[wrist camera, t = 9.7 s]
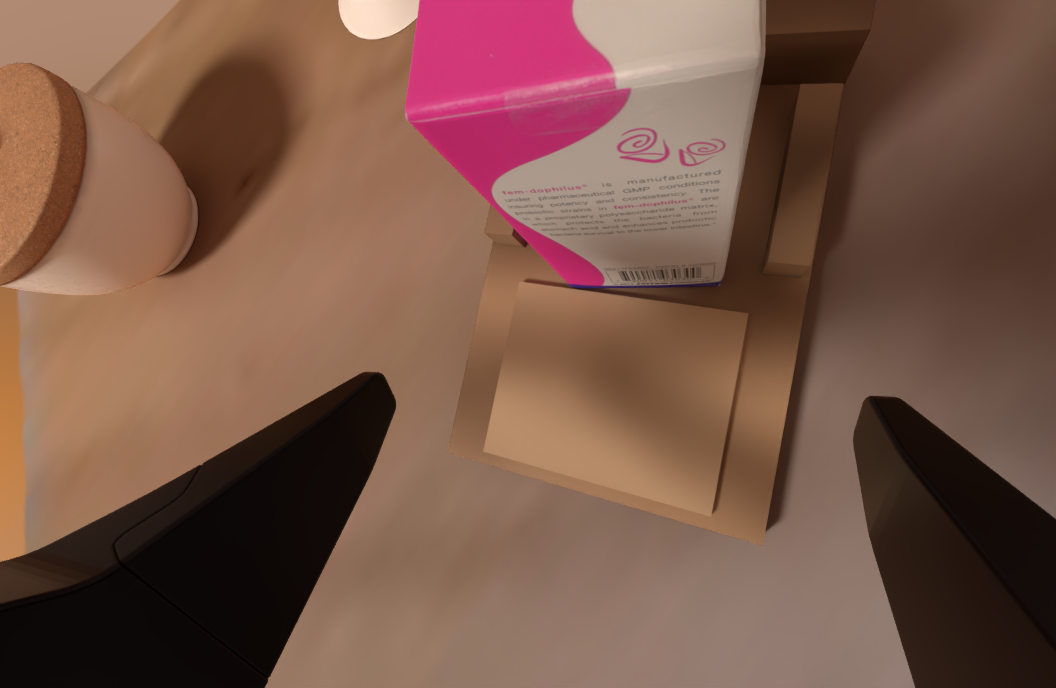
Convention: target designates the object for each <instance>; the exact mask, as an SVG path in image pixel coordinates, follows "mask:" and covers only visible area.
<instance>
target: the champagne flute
mask: <svg viewBox="0 0 1056 688" xmlns="http://www.w3.org/2000/svg"><path fill="white" fill-rule="evenodd" d="M418 8H419V0H339V12H340V16H341V19H342V21H343V23H344V25H345V27H346V28H347V29H348V30H349V31H350V32H351V33H353V34H354V35H356V36H358V37H360V38H365V39H380V38H384V37H388V36H391V35H393V34H395V33H397V32H399V31H401V30H402V29H404V28H405V27H407V26H408V25H410V24H411V23H412V22H413V21H414V20H415V19H416V18H417V16H418Z"/></svg>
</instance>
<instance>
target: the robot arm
mask: <svg viewBox="0 0 1056 688" xmlns="http://www.w3.org/2000/svg"><path fill="white" fill-rule="evenodd" d="M395 409H396V400H395V397H394V395H393V393H392V391H391V389H390V387H389V385H388V382H387V380H386V378H385V377H384V375H383V374H381V373H379V372H363V373H361V374H359V375H357V376H355V377H354V378H352V379H350V380H348V381H347V382H345V383H343V384H341V385H340V386H338V387H336V388H334V389H333V390H331V391H329V392H327V393H325V394H324V395H322V396H320V397H318V398H317V399H315V400H313V401H311V402H310V403H308V404H306V405H304V406H303V407H301V408H299V409H297V410H296V411H294V412H292V413H290V414H289V415H287V416H285V417H283V418H281V419H280V420H278V421H276V422H274V423H273V424H271V425H269V426H267V427H266V428H264V429H262V430H260V431H259V432H257V433H255V434H253V435H252V436H250V437H248V438H246V439H245V440H243V441H241V442H239V443H237V444H236V445H234V446H232V447H230V448H229V449H227V450H225V451H223V452H222V453H220V454H218V455H216V456H215V457H213V458H211V459H209V460H208V461H206V462H204V463H203V464H202V465H199V466H197V467H195V468H193V469H192V470H190V471H188V472H186V473H185V474H183V475H181V476H179V477H177V478H176V479H174V480H172V481H170V482H168V483H167V484H165V485H163V486H161V487H159V488H158V489H156V490H154V491H152V492H150V493H148V494H146V495H144V496H142V497H141V498H139V499H137V500H135V501H133V502H131V503H129V504H127V505H125V506H123V507H121V508H119V509H118V510H116V511H114V512H112V513H110V514H108V515H106V516H104V517H102V518H100V519H98V520H96V521H94V522H92V523H90V524H88V525H86V526H84V527H82V528H80V529H78V530H76V531H74V532H72V533H70V534H69V535H67V536H65V537H63V538H61V539H59V540H57V541H55V542H53V543H51V544H49V545H47V546H45V547H42V548H40V549H38V550H36V551H33V552H31V553H28V554H25V555H23V556H20V557H16V558H13V559H10V560H6V561H2V562H0V688H265V686H266V684H267V682H268V678H269V677H270V676H271V673H272V671H273V669H274V667H275V665H276V663H277V661H278V659H279V657H280V655H281V653H282V651H283V649H284V647H285V645H286V643H287V641H288V639H289V637H290V635H291V633H292V631H293V629H294V627H295V625H296V623H297V621H298V619H299V617H300V615H301V613H302V611H303V609H304V607H305V605H306V603H307V601H308V599H309V597H310V595H311V593H312V591H313V589H314V587H315V585H316V583H317V581H318V579H319V577H320V575H321V573H322V571H323V569H324V567H325V565H326V563H327V561H328V559H329V557H330V555H331V553H332V551H333V549H334V547H335V545H336V543H337V541H338V539H339V537H340V535H341V533H342V531H343V529H344V527H345V525H346V523H347V521H348V519H349V517H350V515H351V513H352V511H353V509H354V507H355V504H356V502H357V500H358V498H359V496H360V494H361V492H362V490H363V488H364V486H365V484H366V482H367V480H368V478H369V476H370V474H371V472H372V470H373V467H374V465H375V462H376V460H377V457H378V455H379V452H380V449H381V447H382V444H383V441H384V439H385V436H386V434H387V431H388V428H389V426H390V423H391V420H392V418H393V415H394V412H395ZM853 445H854V452H855V457H856V463H857V469H858V475H859V481H860V487H861V493H862V499H863V505H864V511H865V516H866V522H867V527H868V532H869V537H870V541H871V544H872V548H873V552H874V555H875V558H876V561H877V565H878V568H879V571H880V574H881V578H882V581H883V584H884V587H885V591H886V594H887V597H888V600H889V604H890V607H891V610H892V613H893V617H894V620H895V623H896V626H897V630H898V633H899V636H900V639H901V643H902V646H903V649H904V652H905V656H906V659H907V662H908V665H909V669H910V672H911V675H912V678H913V682H914V685H915V688H1056V519H1055V518H1054V517H1053V516H1051V515H1050V514H1049V513H1047V512H1046V511H1045V510H1044V509H1042V508H1041V507H1040V506H1038V505H1037V504H1036V503H1035V502H1033V501H1032V500H1031V499H1029V498H1028V497H1027V496H1026V495H1024V494H1023V493H1022V492H1020V491H1019V490H1018V489H1017V488H1015V487H1014V486H1013V485H1011V484H1010V483H1009V482H1008V481H1006V480H1005V479H1004V478H1002V477H1001V476H1000V475H999V474H997V473H996V472H995V471H993V470H992V469H991V468H989V467H988V466H987V465H986V464H984V463H983V462H982V461H980V460H979V459H978V458H977V457H975V456H974V455H973V454H971V453H970V452H969V451H968V450H966V449H965V448H964V447H962V446H961V445H960V444H959V443H957V442H956V441H955V440H953V439H952V438H951V437H950V436H948V435H947V434H946V433H944V432H943V431H942V430H941V429H939V428H938V427H937V426H935V425H934V424H933V423H932V422H930V421H929V420H928V419H926V418H925V417H924V416H923V415H921V414H920V413H919V412H917V411H916V410H915V409H914V408H912V407H911V406H910V405H908V404H907V403H906V402H905V401H903V400H902V399H900V398H897V397H886V396H869V397H867V398H866V399H865V400H864V402H863V404H862V408H861V411H860V414H859V417H858V421H857V424H856V427H855V430H854V436H853Z"/></svg>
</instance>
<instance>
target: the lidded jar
mask: <svg viewBox="0 0 1056 688" xmlns="http://www.w3.org/2000/svg"><path fill="white" fill-rule="evenodd" d="M198 218H199V214H198V205H197V201H196V198H195V195H194V194H193V192H192V190H191V189H190V188H189V187H188V186H187V185H186V182H185V179H184V177H183V175H182V173H181V171H180V170H179V168H178V166H177V164H176V163H175V161H174V160H173V159H172V157H171V156H170V155H169V153H168V152H167V151H166V150H165V149H164V147H163V146H162V145H161V144H160V143H159V142H157V141H156V140H155V139H154V138H153V137H152V136H151V135H150V134H149V133H147V132H146V131H145V130H143V129H142V128H141V127H139V126H138V125H137V124H135V123H134V122H133V121H131V120H130V119H129V118H127V117H126V116H124V115H122V114H121V113H119V112H118V111H116V110H115V109H113V108H112V107H110V106H108V105H107V104H105V103H103V102H101V101H99V100H98V99H96V98H94V97H92V96H90V95H89V94H87V93H85V92H83V91H81V90H79V89H77V88H75V87H73V86H71V85H70V84H68V83H67V82H66V81H64V80H63V79H62V78H60V77H59V76H57V75H55V74H53V73H51V72H50V71H48V70H46V69H44V68H42V67H39V66H37V65H34V64H31V63H14V64H9V65H6V66H4V67H2V68H0V286H3V287H9V288H14V289H20V290H27V291H34V292H42V293H54V294H67V295H97V294H105V293H112V292H119V291H122V290H126V289H129V288H133V287H135V286H138V285H140V284H142V283H144V282H147V281H149V280H150V279H152V278H153V277H155V276H161V275H164V274H166V273H168V272H170V271H172V270H173V269H174V268H176V267H177V266H178V265H179V264H180V263H181V262H182V261H183V259H184V258H185V256H186V255H187V254H188V252H189V250H190V248H191V246H192V244H193V241H194V239H195V236H196V232H197V227H198Z"/></svg>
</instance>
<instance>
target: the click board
mask: <svg viewBox="0 0 1056 688" xmlns="http://www.w3.org/2000/svg"><path fill="white" fill-rule="evenodd" d="M875 1H876V0H766V36H765V58H764V65H763V72H762V77H761V83H760V88H759V93H758V98H757V102H756V107H755V112H754V118H753V123H752V129H751V134H750V139H749V144H748V149H747V154H746V160H745V166H744V171H743V177H742V182H741V187H740V192H739V197H738V203H737V208H736V214H735V219H734V225H733V230H732V236H731V241H730V247H729V252H728V257H727V262H726V267H725V272H724V277H723V280H722V283H721V286H714V287H711V286H707V287H668V288H574V287H570V286H569V285H568V283H567V282H566V281H565V280H564V279H563V278H562V277H561V276H560V275H559V274H558V273H557V272H556V271H555V270H554V269H553V268H552V267H551V266H550V265H549V264H548V263H547V262H546V261H545V260H544V258H543V257H542V256H541V255H540V254H538V253H537V251H536V250H535V249H534V248H532V246H531V245H530V244H529V243H528V242H527V241H526V240H525V239H524V238H523V237H522V236H521V235H520V234H519V233H518V232H517V231H516V230H515V229H514V228H513V227H512V226H511V225H510V224H509V223H508V222H507V221H506V220H505V219H504V218H503V217H502V216H501V215H500V214H499V213H498V211H497V210H496V209H495V208H494V207H493V206H492V205H491V204H490V209H489V213H488V218H487V222H486V227H485V232H484V233H485V234H486V235H488V236H489V237H490V238H491V239H492V240H493V245H492V250H491V254H490V259H489V263H488V268H487V273H486V277H485V282H484V286H483V291H482V296H481V300H480V305H479V309H478V314H477V319H476V323H475V328H474V333H473V337H472V342H471V346H470V351H469V356H468V360H467V365H466V369H465V374H464V379H463V383H462V388H461V392H460V397H459V402H458V406H457V411H456V415H455V420H454V425H453V429H452V434H451V438H450V443H449V448H448V453H451V454H454V455H458V456H461V457H465V458H468V459H471V460H475V461H478V462H481V463H485V464H488V465H492V466H495V467H498V468H502V469H505V470H508V471H512V472H515V473H519V474H522V475H525V476H529V477H532V478H536V479H539V480H542V481H546V482H549V483H552V484H556V485H559V486H563V487H566V488H569V489H573V490H576V491H579V492H583V493H586V494H590V495H593V496H596V497H600V498H603V499H606V500H610V501H613V502H617V503H620V504H623V505H627V506H630V507H633V508H637V509H640V510H644V511H647V512H650V513H654V514H657V515H661V516H664V517H667V518H671V519H674V520H677V521H681V522H684V523H688V524H691V525H694V526H698V527H701V528H704V529H708V530H711V531H715V532H718V533H721V534H725V535H728V536H731V537H735V538H738V539H742V540H745V541H748V542H752V543H755V544H758V545H762V546H763V542H764V537H765V531H766V525H767V520H768V514H769V509H770V503H771V497H772V492H773V486H774V480H775V475H776V469H777V463H778V458H779V452H780V446H781V441H782V435H783V430H784V424H785V418H786V413H787V407H788V401H789V396H790V390H791V384H792V379H793V373H794V368H795V362H796V356H797V351H798V345H799V339H800V334H801V328H802V322H803V317H804V311H805V305H806V300H807V294H808V289H809V283H810V277H811V272H812V266H813V260H814V255H815V249H816V243H817V238H818V232H819V227H820V221H821V215H822V210H823V204H824V198H825V193H826V187H827V181H828V176H829V170H830V165H831V159H832V153H833V148H834V142H835V136H836V131H837V125H838V119H839V114H840V108H841V102H842V97H843V91H844V86H845V82H846V80H847V78H848V76H849V74H850V72H851V70H852V68H853V65H854V63H855V61H856V59H857V57H858V55H859V53H860V51H861V49H862V46H863V44H864V42H865V40H866V38H867V36H868V34H869V32H870V30H871V24H872V19H873V13H874V7H875Z"/></svg>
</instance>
